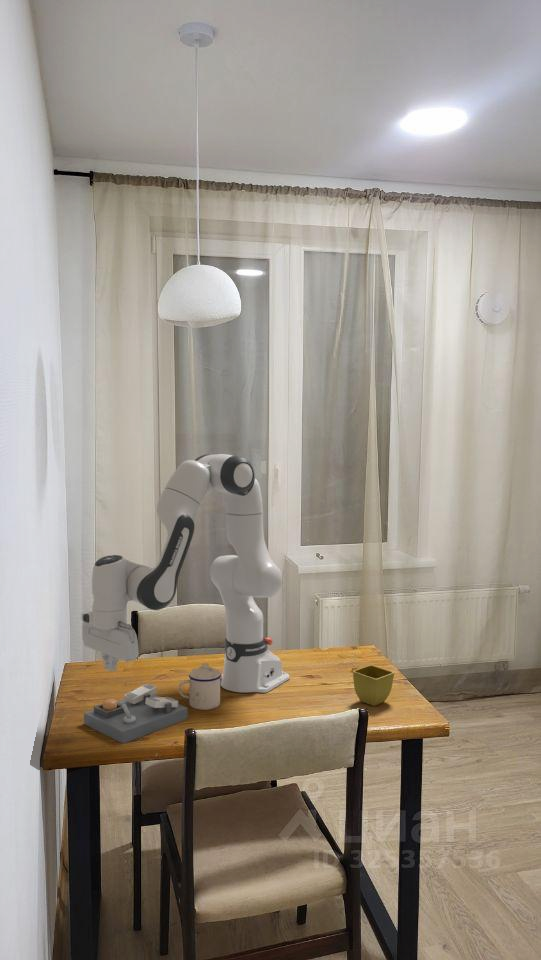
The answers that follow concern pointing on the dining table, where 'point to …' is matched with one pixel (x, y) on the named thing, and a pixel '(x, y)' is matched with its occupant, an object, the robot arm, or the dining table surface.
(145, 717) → the panel
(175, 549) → the robot arm
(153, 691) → the rocker
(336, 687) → the dining table surface
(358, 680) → the flower pot
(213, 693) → the teacup with lid
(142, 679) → the dining table surface
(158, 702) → the rocker
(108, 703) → the button
